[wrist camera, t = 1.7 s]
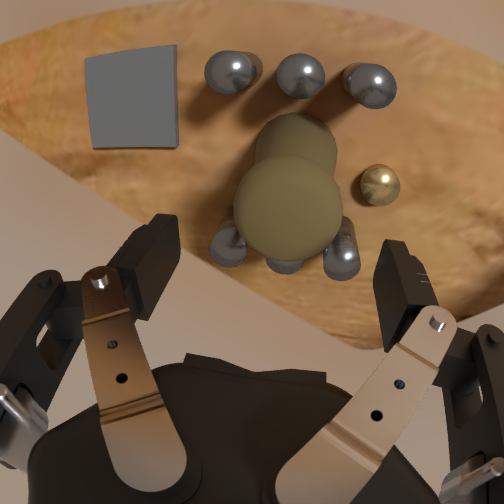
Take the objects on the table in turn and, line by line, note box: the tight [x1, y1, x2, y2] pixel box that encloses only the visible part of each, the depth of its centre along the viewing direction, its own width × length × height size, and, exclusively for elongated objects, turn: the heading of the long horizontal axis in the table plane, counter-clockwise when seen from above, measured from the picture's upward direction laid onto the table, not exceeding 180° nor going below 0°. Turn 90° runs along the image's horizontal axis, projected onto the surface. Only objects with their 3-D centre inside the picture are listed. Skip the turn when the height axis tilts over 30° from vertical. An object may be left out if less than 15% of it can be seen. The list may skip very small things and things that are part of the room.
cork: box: [233, 113, 343, 262], centre depth 18 cm, size 6×6×11 cm
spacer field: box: [204, 50, 397, 281], centre depth 21 cm, size 11×15×5 cm
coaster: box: [85, 45, 179, 148], centre depth 22 cm, size 8×8×1 cm
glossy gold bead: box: [360, 164, 400, 206], centre depth 22 cm, size 3×3×1 cm
